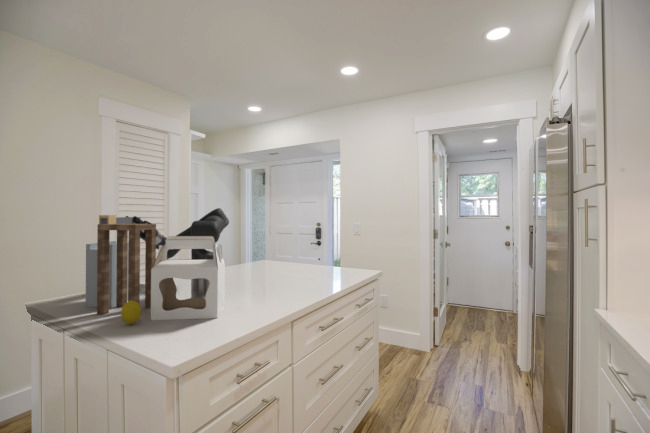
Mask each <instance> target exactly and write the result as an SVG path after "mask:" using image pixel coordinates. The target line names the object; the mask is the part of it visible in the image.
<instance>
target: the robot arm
mask: <svg viewBox="0 0 650 433" xmlns="http://www.w3.org/2000/svg"><path fill="white" fill-rule="evenodd" d="M125 217H129V216H128V215H126V216H125ZM132 217H133V221H134V222H135V223H136V224H153V223H152V222H150V221H148V220H142V219H141V220H140V219H139V218H137V217H138V216H135V215H133V216H132ZM229 223H230V220H229V218H228V217H227V216H226V214H225V212H224V211H223V209H222V208H220V207H218V208H215V209H212V210H211V211H210V212H208V213H206V214H205V215H204V216H202V217H200V219H198V220H194V221H193V222H192V223H191V224H190V225H191V226H189V227H188V228H186V229H185V230H183V231H181V232H180V233H178V234H176V235H175V236H213V237H214V240H215V244H217V242H218V241H219V239H220V237H221V233H222V232H223V231H224V229H225V228H227V227H228V225H229ZM141 239H142V240H143V241H144V242H145V243H146V230H140V240H141ZM166 239H167V237H166V236H164V235H162V233H161V232H160V231H159V230H158V229H157V228H156V250H159V245H164V244H166V241H165V240H166ZM181 250H182V249H169V250H168V252H167V260H169V259H172V258H173V257H175V256H176V255H177V254H178V253H179V252H180V251H181ZM190 250H191V253H190V254H191V258H190V259H213V251H210V250H208V249H190ZM190 280H191V281H190V283H191V284H190V285H191V287H190V298H203V299H205V296H206V293H207V290H208V288H209V285H210V282H209V280H207V279H205V278H196V279H190Z"/></svg>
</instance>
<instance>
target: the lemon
mask: <svg viewBox="0 0 650 433" xmlns="http://www.w3.org/2000/svg"><path fill="white" fill-rule="evenodd" d="M141 315H142V308H141V304H140V305H139V303H138V302H136V301H133V300H130V301H129V302H128V301H127V303H126V304H124V306H123V307H121V311H120V317H121V320H122V321H123V322H124V323H126V324H128V325H130V326H132V325H133V324H134V323H136V322H137V321H139V319H140V318H141Z"/></svg>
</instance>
